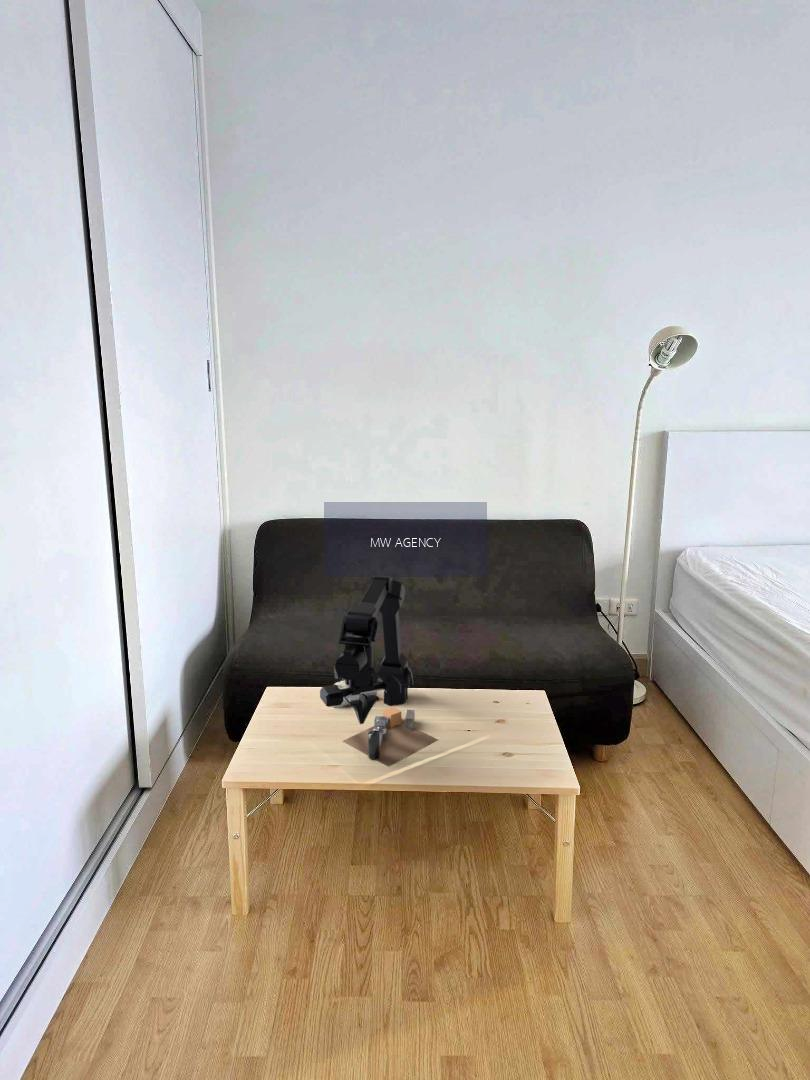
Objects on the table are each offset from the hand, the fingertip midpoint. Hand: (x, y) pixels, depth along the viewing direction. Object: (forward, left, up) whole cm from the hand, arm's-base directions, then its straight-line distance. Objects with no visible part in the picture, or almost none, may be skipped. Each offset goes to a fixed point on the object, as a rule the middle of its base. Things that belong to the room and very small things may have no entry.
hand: (361, 723), depth 175 cm
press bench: (-13, -2, -11) cm, 18 cm away
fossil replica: (-19, -27, -12) cm, 35 cm away
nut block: (-19, -9, -10) cm, 23 cm away
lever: (-9, -4, -10) cm, 14 cm away
